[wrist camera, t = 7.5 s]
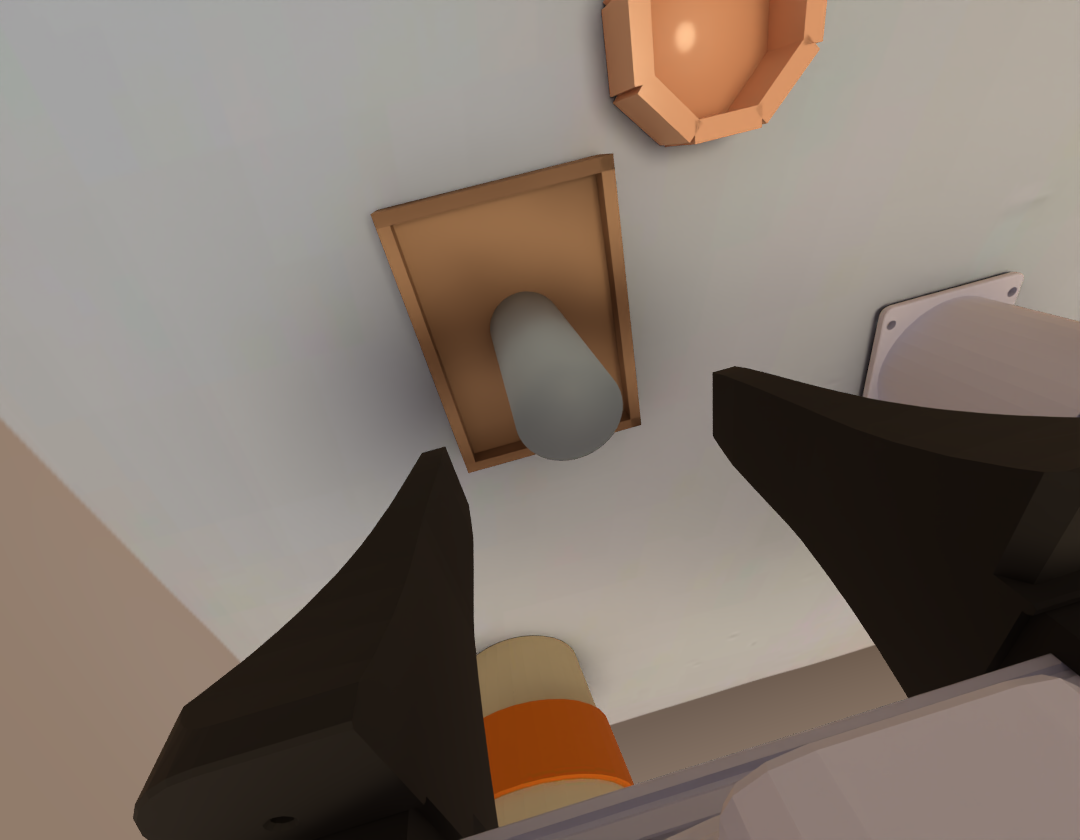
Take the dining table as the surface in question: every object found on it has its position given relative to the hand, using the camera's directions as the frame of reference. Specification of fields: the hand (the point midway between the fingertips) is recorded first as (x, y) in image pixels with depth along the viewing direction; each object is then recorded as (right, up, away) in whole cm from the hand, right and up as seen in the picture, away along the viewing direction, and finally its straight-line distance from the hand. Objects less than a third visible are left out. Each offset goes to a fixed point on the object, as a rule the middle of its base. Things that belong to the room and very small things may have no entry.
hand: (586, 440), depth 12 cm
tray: (-2, +5, +9) cm, 10 cm away
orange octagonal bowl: (+4, +15, +5) cm, 16 cm away
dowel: (-2, +5, +8) cm, 9 cm away
